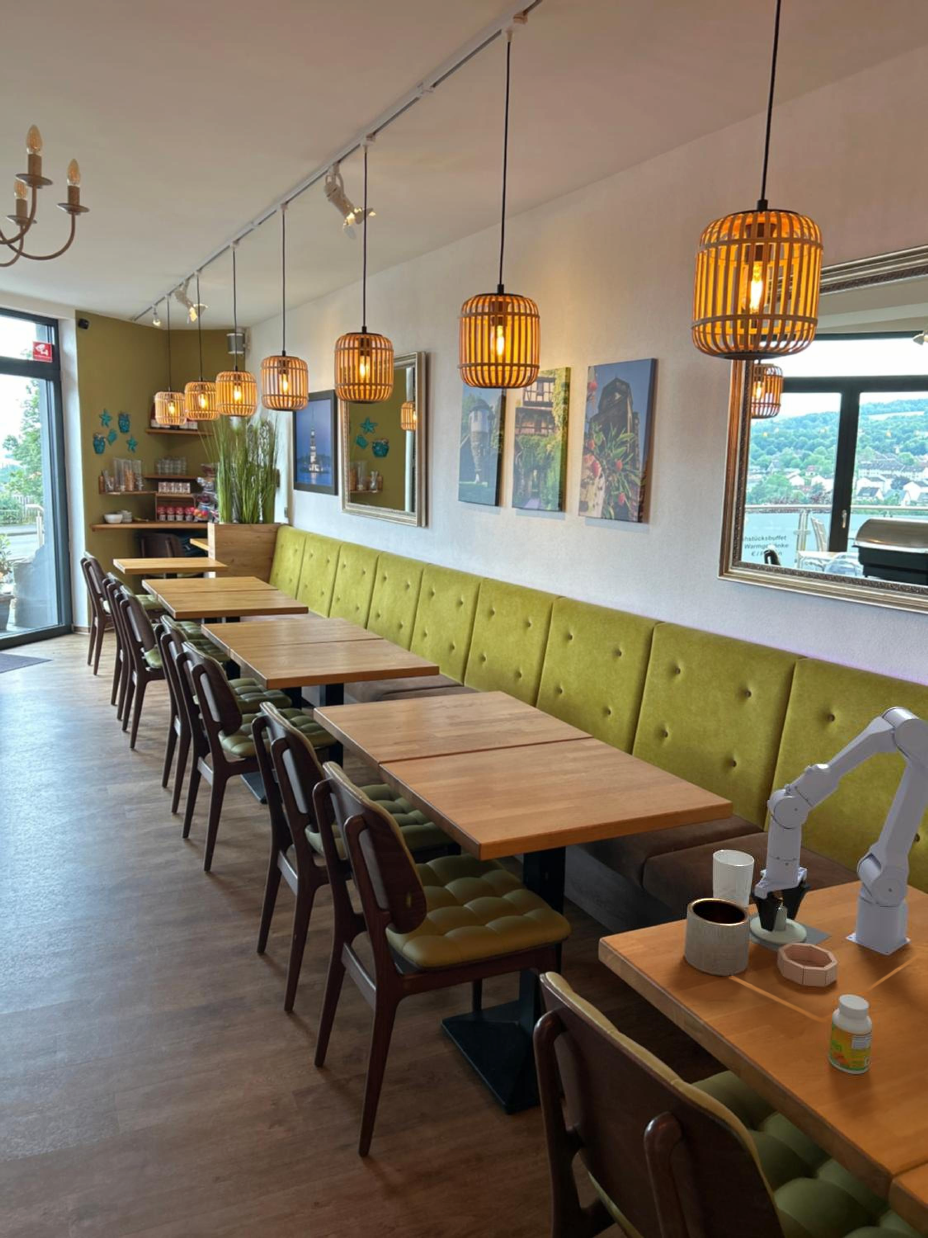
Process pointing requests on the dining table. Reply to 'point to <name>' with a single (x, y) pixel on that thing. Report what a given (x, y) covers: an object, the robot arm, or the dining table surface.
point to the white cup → (732, 876)
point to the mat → (811, 938)
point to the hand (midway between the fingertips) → (778, 923)
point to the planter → (717, 936)
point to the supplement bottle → (851, 1035)
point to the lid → (780, 929)
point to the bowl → (807, 964)
